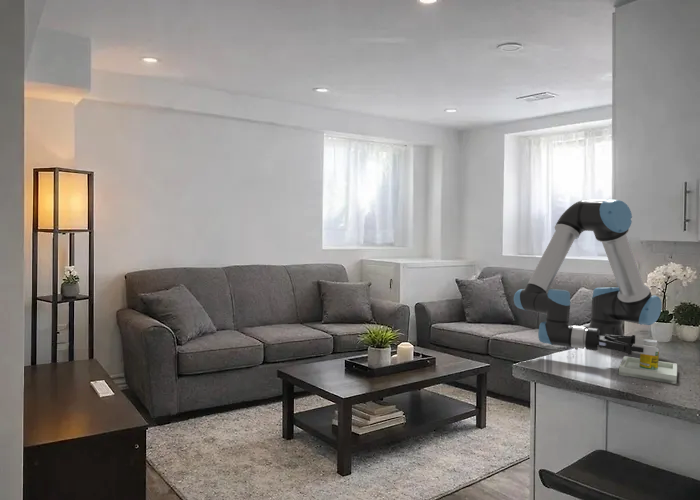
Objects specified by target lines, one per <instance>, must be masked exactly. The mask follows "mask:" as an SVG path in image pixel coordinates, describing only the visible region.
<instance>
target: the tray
mask: <svg viewBox="0 0 700 500" xmlns="http://www.w3.org/2000/svg"><path fill="white" fill-rule="evenodd" d="M639 366H640V357H633V356H628V355H627V356H626V355H624V356H623V357H622V360H621V362H620V364H619V366H618V375H619V376H624V377H630V378H635V379H644V380H648V381H649V380H650V381H656V382H660V383H661V382H662V383H666V384H667V383H668V384H673V385H677V381H678V379H677V378H678V363H675V362H668V361H661V360H658V370H657V371H656V372H653V371H647V370H641V369H640V367H639Z"/></svg>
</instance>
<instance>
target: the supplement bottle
mask: <svg viewBox="0 0 700 500" xmlns="http://www.w3.org/2000/svg"><path fill="white" fill-rule="evenodd" d="M654 340H655V339H650V340H644V342H643V344H644V345H646V346H653V347H656V346H657V347H656V353H655V356H653V355H646V354H639V358H640V366H639V367H640V369H641V370H647V371H653V372H656V371H657V370H658V361H659V357H660V349H659V347H658V340H657V341H654Z"/></svg>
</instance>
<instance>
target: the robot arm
mask: <svg viewBox="0 0 700 500" xmlns="http://www.w3.org/2000/svg"><path fill="white" fill-rule="evenodd" d="M632 218H633V216H632V211H631V208H630V207H629V205H628V204H627V203H626V202H625V201H622V200H620V199H612V198H608V199H582V200H579V201H577V202H574V203H573V204H571V205H570V206H569V207H568V208H567V209H566V210H565V211H564V212H563V213H562V214H561V215H560V217H559V218H558V220H557V222H556V223H555V225H554V230H555V231H554V233H553V235H552V236H551V239H550V241H549V243H548V244H547V246H546V248H545V250H544V252H543V254H542V256H541V257H540V259H539V261H538V264H537V266H536V267H535V269H534V271H533V273H532V275H531V277H530V278H529V280H528V282H527V284H526V286H525V288H521V289H518V290H517V291H516V292H515V293H514V296H513V302H514V303H513V304H514V306H515V307H516V308H517V309H520V310H523V311H527V312H528V311H529V312H534V313H538V314H543V315H546V318H545V321H541V322H540V323H539V327H538V334H537V335H538V337H537V338H538V341H539V342H540V343H542V344H548V345H551V346H559V347H566V348H567V347H568V348H574V350H577V351H578V349H581V350H583V349H586V350H587V351H595V352H596V351H598V350H599V348H601V349H608V350H612V351H616V352H621V353H626V354H628V355H629V356H632V354H639V355H640V354H646V355H653V356H655V353H656V347H657V348H658V345H657V346H656V347H653V346H646V345H644V344H643V342H644V340H651V339H649V338H641V337H636V335H635V334H632V335H625V334H624V330H623V326H622V322H623V321H624V322H628V323H633V324H637V325H640V326H641V325H644V326H651V325H653V324H655V323H656V322H657V321H658V319H659V317H660V316H661V312H662V308H663V304H662V299H661V297H659V296H657V295H656V294H652V291H651V289H650V287H649V286H648V285H646V284H644V282H643V279H642V277H641V274H640V272H639V268H638V265H637V263H636V260H635V256H634V254H633V250H632V248H631V245H630V242H629V240H628V239H629V238H628V237H627V235H628V232H629V230H630V227H632V223H633V221H632ZM586 231H587V232H593V234H594V237H595V239H596V240H597V241H598V242H600V243H602V246H603V248H604V251H605V254H606V257H607V260H608V262H609V263H608V264H609V265H610V268H611V271H612V274H613V276H614V278H615V282H616V284H617V287H596V288H594V289H593V290H592V297H591V311H590V313H591V315H590V323H589V325H588V328H587V327H586V326H581V325H580V326H579V325H572V324H571V325H570V324H569V323H570V313H571V312H570V311H571V292H570V291H569V290H566V289H559V288H550V287H551V285H552V283H553V282H554V280H555V278H556V276H557V274H558V272H559V270H560V268H561V267H562V264H563V262H564V260H565V258H566V256H567V255H568V253H569V251H570V248H571V247H572V245H573V243H574V242H575V240H577V239H579V237H580V236H581V234H582V233H583V232H586ZM653 340H654V341H657V342H658V340H657V339H653ZM628 355H627V356H628Z"/></svg>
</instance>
